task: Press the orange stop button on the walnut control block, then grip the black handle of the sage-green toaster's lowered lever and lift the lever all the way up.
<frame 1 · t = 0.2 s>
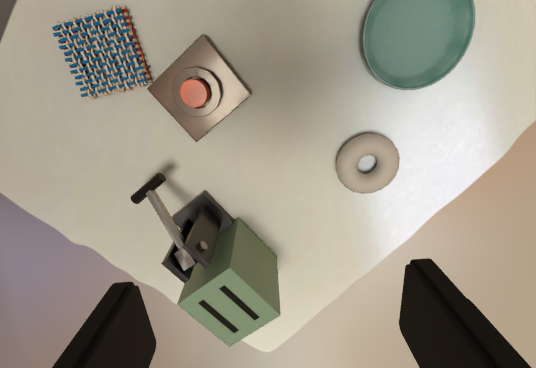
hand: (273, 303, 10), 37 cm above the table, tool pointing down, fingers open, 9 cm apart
toaster: (238, 251, 53), on the table
lever: (169, 223, 41), point 8 cm above the table, hinge at -28.0°
donut: (363, 161, 47), on the table
button: (195, 93, 38), point 5 cm above the table, slide at 0.2 cm
bracket: (204, 218, 50), on the table
woven mat: (109, 55, 40), on the table
control block: (202, 90, 42), on the table
saucer: (408, 34, 40), on the table
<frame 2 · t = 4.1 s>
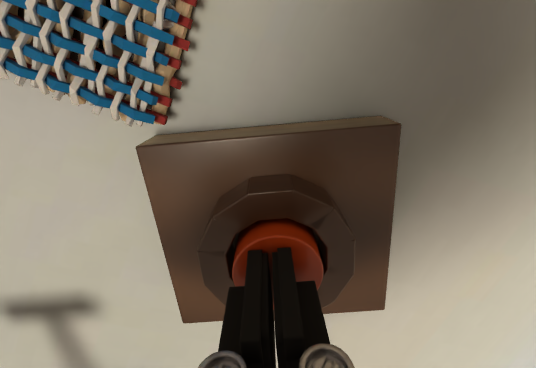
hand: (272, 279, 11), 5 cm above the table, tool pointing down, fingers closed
button: (276, 259, 12), point 4 cm above the table, slide at -0.8 cm, touching gripper
control block: (274, 216, 15), on the table
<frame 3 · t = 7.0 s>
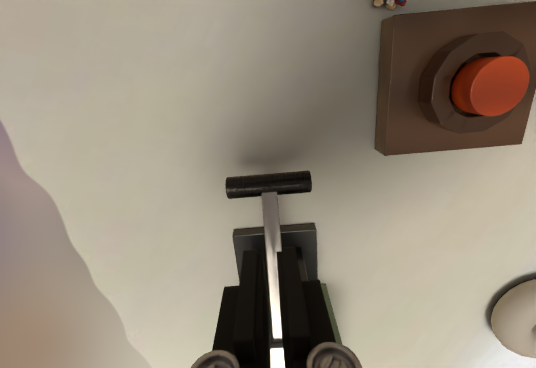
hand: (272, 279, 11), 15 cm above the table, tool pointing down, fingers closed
toaster: (282, 324, 33), on the table
lever: (275, 274, 20), point 8 cm above the table, hinge at -28.0°
donut: (527, 305, 32), on the table
button: (487, 86, 19), point 5 cm above the table, slide at 0.1 cm
bracket: (276, 259, 29), on the table
control block: (445, 83, 23), on the table
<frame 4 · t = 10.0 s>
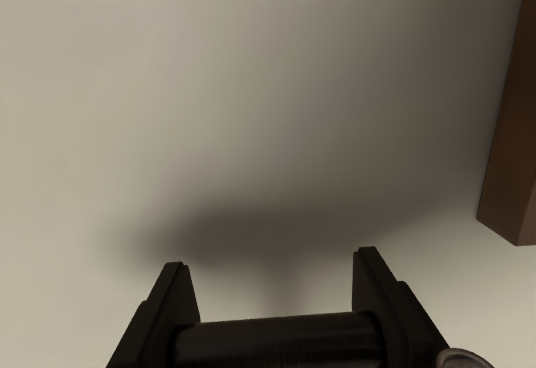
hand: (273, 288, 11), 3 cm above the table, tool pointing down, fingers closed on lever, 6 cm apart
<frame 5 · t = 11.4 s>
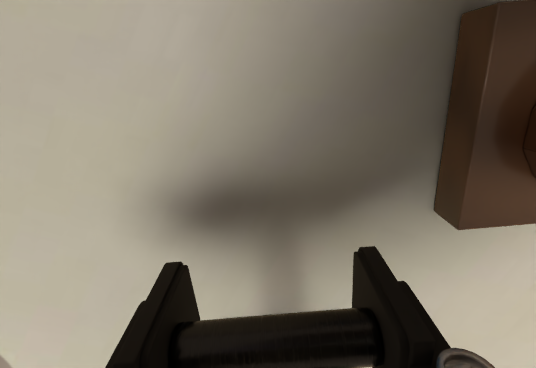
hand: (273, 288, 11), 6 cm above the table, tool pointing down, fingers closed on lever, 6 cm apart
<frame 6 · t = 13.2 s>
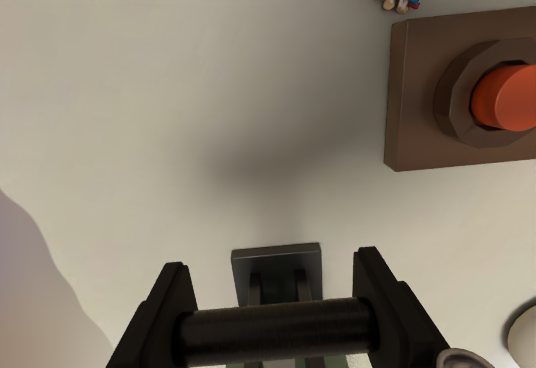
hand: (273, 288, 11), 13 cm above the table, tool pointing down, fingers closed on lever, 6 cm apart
toaster: (285, 348, 30), on the table
button: (512, 97, 17), point 5 cm above the table, slide at 0.1 cm
bracket: (278, 281, 27), on the table
control block: (461, 92, 21), on the table
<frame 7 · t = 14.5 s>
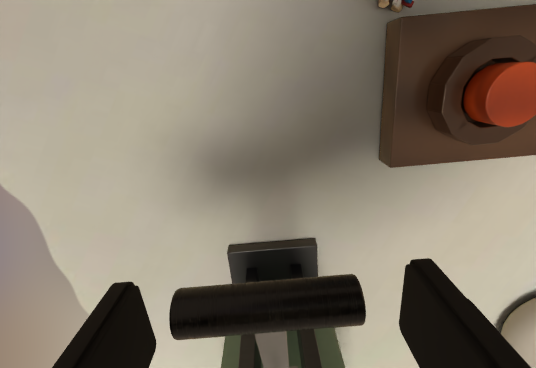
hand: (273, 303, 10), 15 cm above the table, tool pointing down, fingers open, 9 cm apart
toaster: (281, 343, 31), on the table
lever: (277, 367, 13), point 13 cm above the table, hinge at 19.8°
button: (503, 94, 17), point 5 cm above the table, slide at 0.1 cm
bracket: (274, 276, 27), on the table
control block: (454, 90, 21), on the table
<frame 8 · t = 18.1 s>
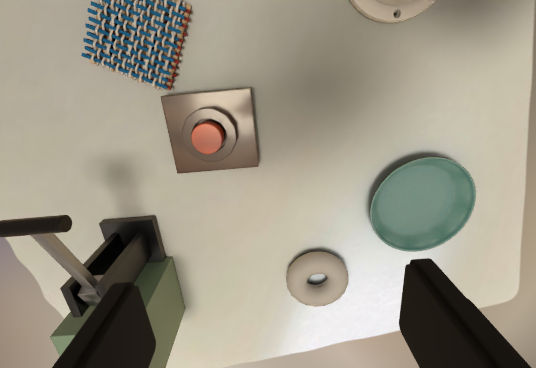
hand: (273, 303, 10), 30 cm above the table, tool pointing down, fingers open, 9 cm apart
toaster: (149, 285, 47), on the table
lever: (71, 264, 30), point 13 cm above the table, hinge at 19.8°
donut: (315, 271, 47), on the table
button: (208, 137, 33), point 5 cm above the table, slide at 0.1 cm
bracket: (135, 239, 44), on the table
woven mat: (141, 35, 34), on the table
control block: (214, 129, 38), on the table
saucer: (412, 199, 42), on the table
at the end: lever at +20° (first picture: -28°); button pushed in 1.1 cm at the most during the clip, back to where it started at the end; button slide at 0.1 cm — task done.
